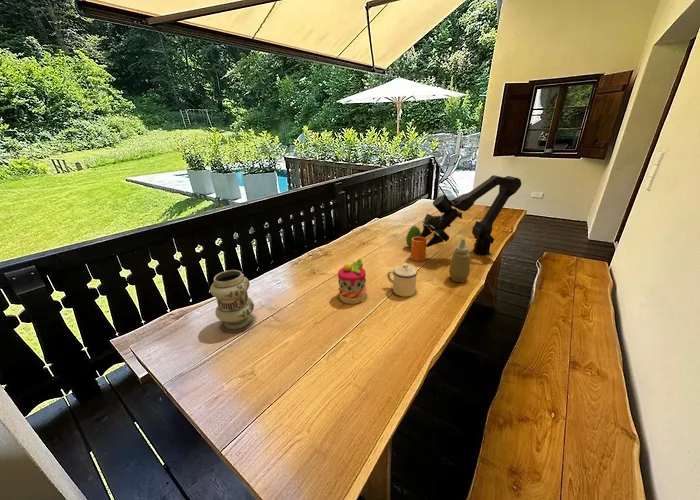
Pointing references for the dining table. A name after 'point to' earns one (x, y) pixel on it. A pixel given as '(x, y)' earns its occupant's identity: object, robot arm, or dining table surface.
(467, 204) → the robot arm
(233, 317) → the apothecary jar
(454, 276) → the squeeze bottle
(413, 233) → the avocado
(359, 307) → the dining table surface
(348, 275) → the cake
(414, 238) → the orange cup
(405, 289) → the teacup with lid
